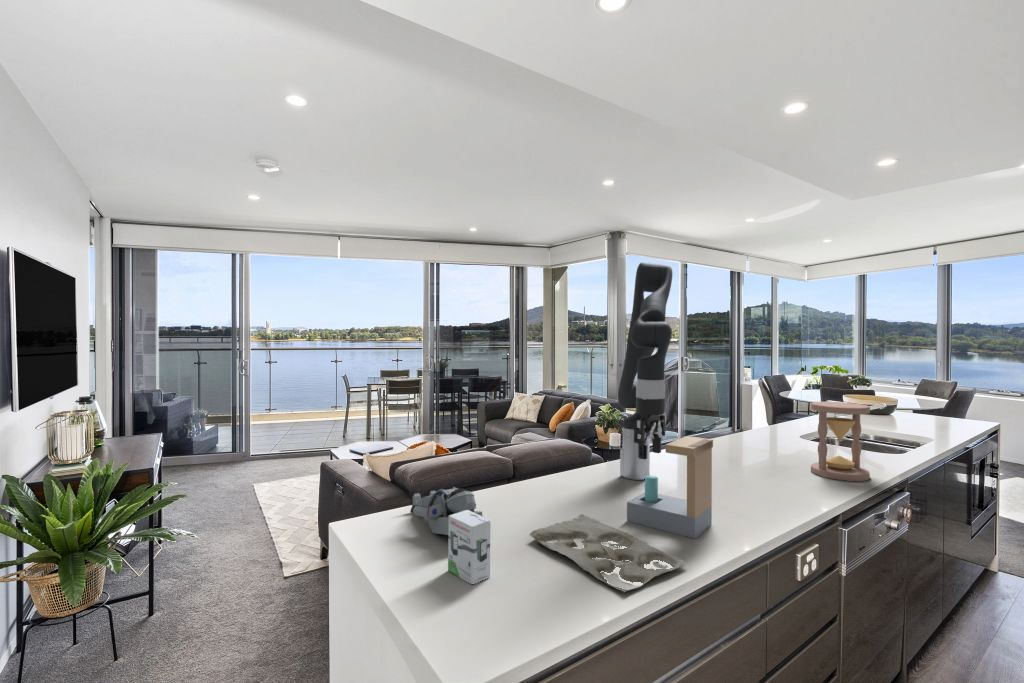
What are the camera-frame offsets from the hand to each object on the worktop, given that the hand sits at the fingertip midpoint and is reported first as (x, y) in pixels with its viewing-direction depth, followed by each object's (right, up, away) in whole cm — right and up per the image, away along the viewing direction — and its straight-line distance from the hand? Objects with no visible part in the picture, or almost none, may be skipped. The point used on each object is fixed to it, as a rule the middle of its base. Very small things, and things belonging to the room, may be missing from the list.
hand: (649, 455), depth 132 cm
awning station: (+4, -17, -3) cm, 18 cm away
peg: (0, -17, 0) cm, 17 cm away
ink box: (-46, -17, -31) cm, 58 cm away
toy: (-55, -17, -6) cm, 58 cm away
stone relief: (-17, -18, -22) cm, 33 cm away
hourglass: (+80, -17, +43) cm, 92 cm away
